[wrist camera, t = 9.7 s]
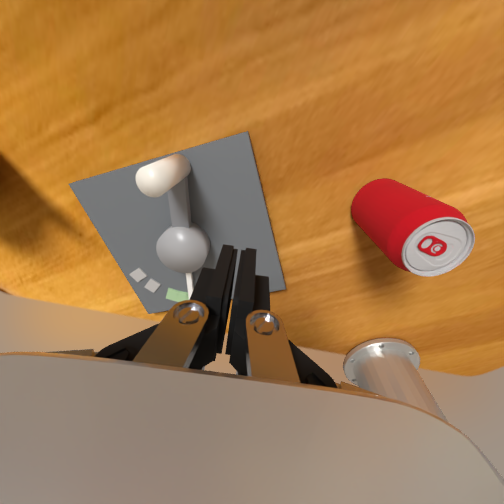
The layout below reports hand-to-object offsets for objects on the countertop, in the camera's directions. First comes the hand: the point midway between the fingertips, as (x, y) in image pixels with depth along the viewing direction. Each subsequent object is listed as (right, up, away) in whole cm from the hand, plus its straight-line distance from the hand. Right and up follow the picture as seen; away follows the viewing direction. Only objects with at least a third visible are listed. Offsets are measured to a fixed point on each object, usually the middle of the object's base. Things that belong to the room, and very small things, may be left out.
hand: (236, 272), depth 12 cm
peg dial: (-8, +2, +20) cm, 21 cm away
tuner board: (-8, +3, +21) cm, 22 cm away
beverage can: (+16, +7, +17) cm, 25 cm away
